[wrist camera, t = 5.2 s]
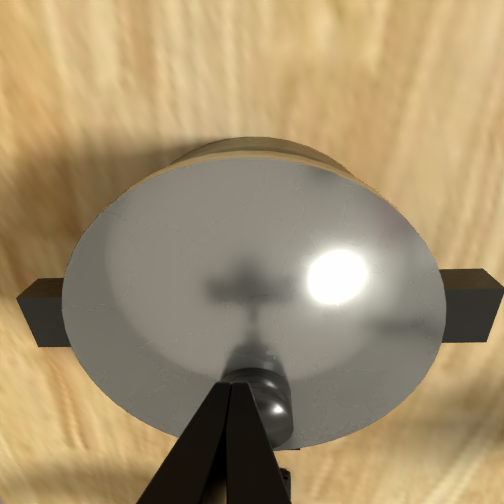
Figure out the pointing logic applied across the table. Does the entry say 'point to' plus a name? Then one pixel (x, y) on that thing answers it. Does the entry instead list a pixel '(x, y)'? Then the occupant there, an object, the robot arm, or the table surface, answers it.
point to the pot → (454, 280)
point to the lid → (255, 296)
